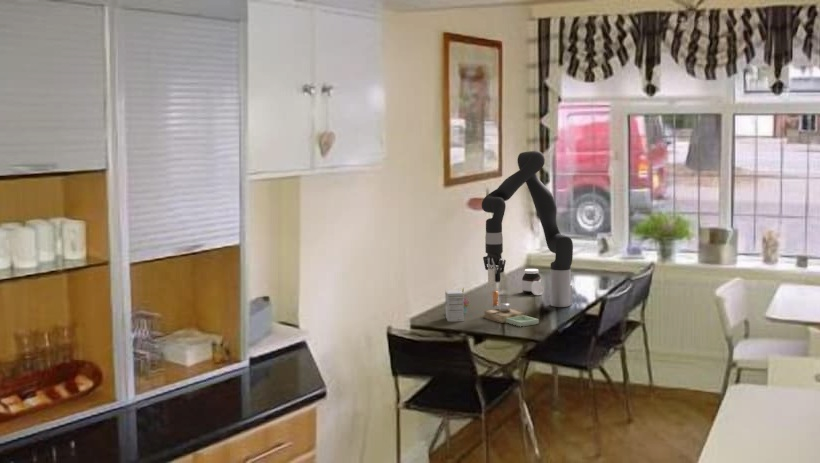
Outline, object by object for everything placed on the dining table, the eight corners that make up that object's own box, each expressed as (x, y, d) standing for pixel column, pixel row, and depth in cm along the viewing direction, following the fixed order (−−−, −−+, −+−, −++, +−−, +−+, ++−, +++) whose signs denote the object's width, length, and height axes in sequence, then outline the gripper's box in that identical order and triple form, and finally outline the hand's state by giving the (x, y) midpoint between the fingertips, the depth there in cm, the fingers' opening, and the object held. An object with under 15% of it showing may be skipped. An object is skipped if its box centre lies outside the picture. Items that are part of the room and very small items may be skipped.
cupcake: (471, 311, 448) (470, 286, 446) (466, 315, 440) (465, 289, 438) (453, 310, 450) (452, 285, 449) (447, 314, 443) (447, 288, 441)
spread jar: (529, 290, 494) (529, 267, 493) (549, 292, 488) (549, 269, 486) (517, 294, 484) (517, 271, 483) (538, 296, 478) (538, 273, 476)
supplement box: (445, 318, 436) (444, 290, 434) (461, 317, 437) (461, 289, 435) (447, 321, 429) (446, 293, 427) (464, 321, 429) (463, 292, 428)
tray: (523, 319, 430) (523, 315, 430) (538, 323, 422) (538, 319, 421) (505, 322, 425) (505, 318, 424) (520, 327, 416) (520, 322, 416)
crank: (512, 311, 431) (512, 295, 430) (502, 312, 430) (502, 296, 429) (499, 305, 443) (499, 290, 442) (489, 306, 441) (489, 291, 440)
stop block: (495, 281, 434) (495, 267, 433) (500, 282, 430) (500, 269, 429) (488, 282, 431) (487, 268, 431) (493, 283, 428) (493, 270, 427)
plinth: (507, 313, 442) (507, 306, 442) (525, 318, 431) (525, 311, 431) (484, 317, 435) (484, 310, 435) (502, 323, 424) (502, 315, 424)
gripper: (510, 243, 424) (511, 282, 427) (491, 239, 436) (491, 277, 439) (496, 245, 420) (497, 284, 423) (477, 241, 432) (478, 279, 435)
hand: (494, 280), depth 431 cm, fingers closed on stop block, 4 cm apart
